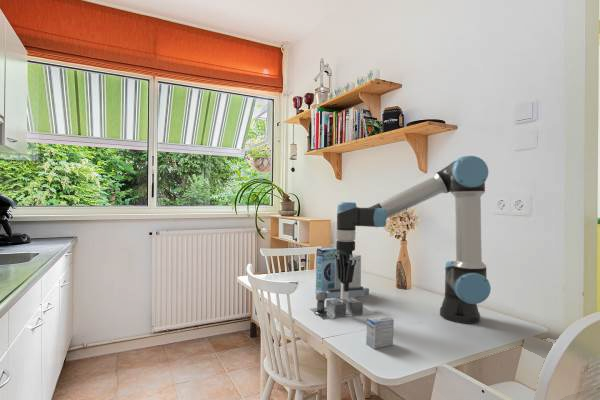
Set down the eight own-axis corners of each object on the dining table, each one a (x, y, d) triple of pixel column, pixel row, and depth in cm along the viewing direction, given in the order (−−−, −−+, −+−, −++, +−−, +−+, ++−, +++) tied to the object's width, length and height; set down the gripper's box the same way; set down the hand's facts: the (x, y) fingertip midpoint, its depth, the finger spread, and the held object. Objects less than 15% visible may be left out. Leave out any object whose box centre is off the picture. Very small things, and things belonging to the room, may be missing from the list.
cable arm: (318, 300, 141) (318, 291, 141) (314, 298, 145) (314, 289, 145) (370, 296, 150) (370, 287, 150) (365, 293, 154) (365, 285, 154)
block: (362, 312, 147) (362, 302, 147) (352, 313, 145) (352, 303, 145) (352, 306, 154) (353, 297, 154) (342, 307, 152) (343, 298, 152)
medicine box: (384, 340, 119) (384, 315, 119) (393, 345, 115) (394, 319, 115) (365, 344, 116) (366, 318, 116) (374, 349, 112) (375, 322, 112)
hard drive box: (346, 292, 180) (347, 253, 180) (361, 294, 176) (361, 255, 176) (333, 299, 167) (334, 257, 167) (348, 302, 163) (349, 259, 163)
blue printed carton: (343, 288, 187) (344, 245, 187) (350, 291, 183) (351, 247, 183) (315, 293, 176) (316, 248, 176) (321, 296, 172) (322, 249, 172)
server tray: (375, 315, 146) (376, 300, 146) (322, 321, 136) (322, 305, 136) (358, 305, 159) (358, 291, 159) (307, 310, 149) (308, 296, 149)
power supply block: (345, 314, 144) (346, 303, 144) (334, 315, 142) (335, 304, 142) (336, 308, 151) (336, 298, 151) (326, 309, 149) (326, 299, 149)
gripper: (362, 242, 137) (361, 302, 137) (346, 238, 149) (344, 293, 149) (345, 242, 134) (344, 304, 134) (330, 238, 146) (328, 295, 147)
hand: (344, 298), depth 142 cm, fingers closed
